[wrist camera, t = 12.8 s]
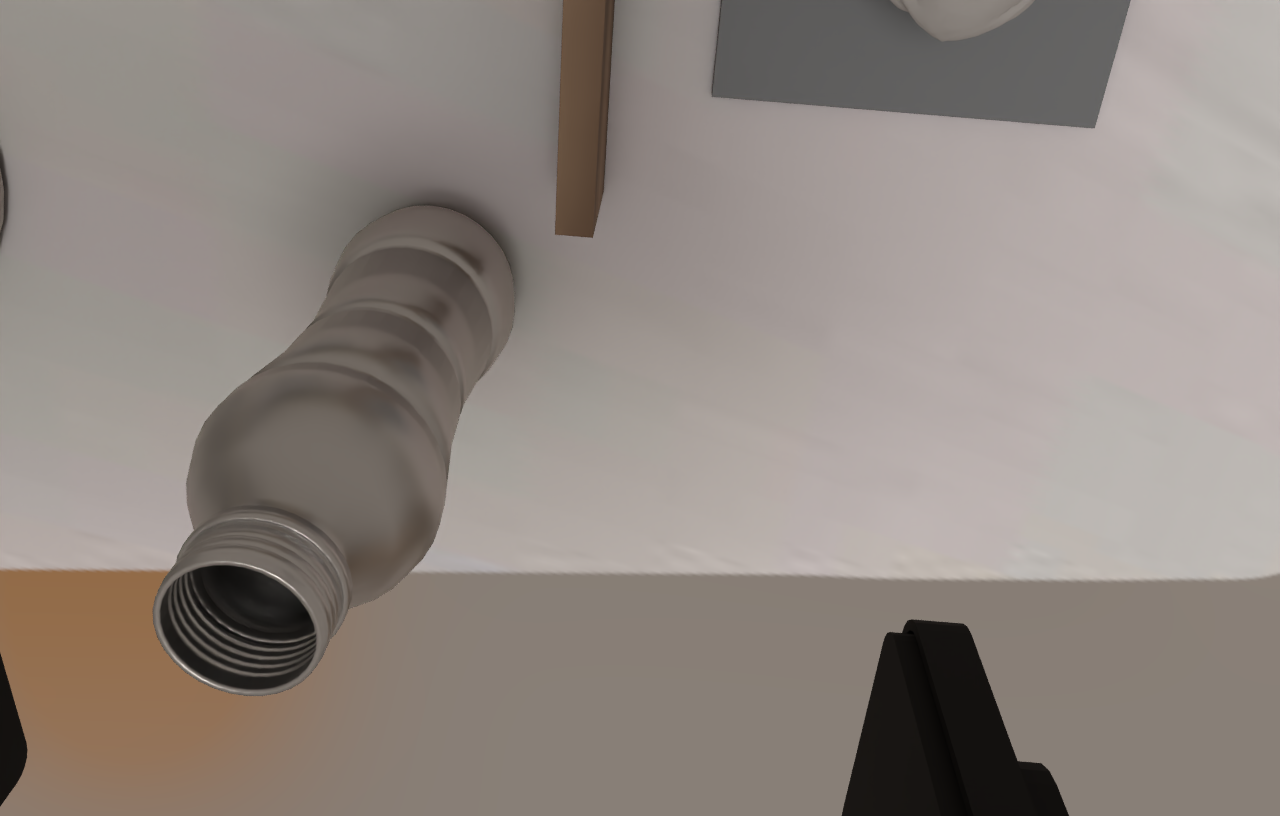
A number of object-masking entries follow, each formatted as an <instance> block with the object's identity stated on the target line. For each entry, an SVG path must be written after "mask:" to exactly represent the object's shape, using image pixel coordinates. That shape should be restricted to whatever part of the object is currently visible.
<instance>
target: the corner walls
mask: <svg viewBox="0 0 1280 816" xmlns="http://www.w3.org/2000/svg"><path fill="white" fill-rule="evenodd" d="M614 3H615V0H563V22H562V51H561V79H560V108H559V136H558V164H557V193H556V221H555V235H567V236H579V237H591V238H593V235H594V230H595V226H596V222H597V218H598V213H599V209H600V205H601V201H602V196H603V192H604V176H605V159H606V142H607V124H608V107H609V89H610V72H611V55H612V37H613V20H614Z"/></svg>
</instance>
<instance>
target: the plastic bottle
mask: <svg viewBox="0 0 1280 816" xmlns="http://www.w3.org/2000/svg"><path fill="white" fill-rule="evenodd" d="M514 313H515V299H514V282H513V277H512V273H511V269H510V266H509V263H508V261H507V259H506V257H505V255H504V253H503V251H502V249H501V247H500V246H499V245H498V243H497V242H496V241H495V239H494V238H493V237H492V236H491V235H490V234H489V233H488V232H487V231H486V230H485V229H484V228H483V227H482V226H481V225H479V224H478V223H477V222H475V221H473V220H472V219H470V218H469V217H467V216H465V215H464V214H461V213H458V212H456V211H453V210H451V209H448V208H442V207H437V206H431V205H429V206H411V207H407V208H402V209H398V210H396V211H394V212H392V213H390V214H387V215H385V216H383V217H381V218H379V219H378V220H376V221H374V222H372V223H370V224H369V225H367V226H366V227H365V228H364V229H362V230H361V231H360V232H358V233H357V234H356V235H355V236H354V238H353V239H352V240H351V241H350V242H349V244H348V245H347V246H346V247H345V249H344V251H343V253H342V255H341V257H340V259H339V261H338V263H337V265H336V268H335V270H334V272H333V275H332V277H331V280H330V284H329V288H328V292H327V296H326V298H325V300H324V302H323V304H322V306H321V308H320V309H319V311H318V313H317V315H316V317H315V319H314V320H313V322H312V323H311V324H310V325H309V326H308V327H307V329H306V330H305V331H303V332H302V334H301V335H300V336H299V337H298V338H297V339H296V340H295V341H294V342H293V343H292V344H291V345H290V346H289V348H288V349H287V350H286V351H285V352H284V353H282V354H281V355H280V356H278V357H277V358H276V359H274V360H273V361H272V362H270V363H269V364H268V365H267V366H265V367H264V368H263V369H261V370H260V371H259V372H257V373H256V374H255V375H254V376H252V377H251V378H250V379H248V380H247V381H246V382H244V383H243V384H242V385H240V386H239V387H238V388H236V389H235V390H234V391H233V392H232V393H231V394H230V395H229V396H228V397H227V398H226V399H225V400H224V401H223V402H222V403H221V404H219V405H218V407H217V408H216V409H215V410H214V411H213V413H212V414H211V415H210V416H209V417H208V419H207V420H206V421H205V423H204V425H203V427H202V429H201V431H200V433H199V435H198V437H197V439H196V441H195V446H194V450H193V454H192V459H191V463H190V467H189V472H188V477H187V482H186V492H187V506H188V510H189V514H190V518H191V521H192V525H193V529H194V531H193V532H192V533H191V534H190V536H189V537H188V538H187V540H186V541H185V543H184V544H183V546H182V548H181V550H180V552H179V554H178V556H177V561H176V563H175V565H174V566H173V567H172V569H171V570H170V572H169V573H168V574H167V576H166V577H165V578H164V580H163V582H162V584H161V586H160V588H159V590H158V593H157V595H156V597H155V601H154V606H153V624H154V627H155V631H156V634H157V637H158V639H159V641H160V643H161V644H162V647H163V648H164V650H165V651H166V653H167V654H168V655H169V656H170V657H171V659H172V660H173V661H174V662H175V663H176V664H177V665H178V666H179V667H180V668H181V669H182V670H184V671H185V672H186V673H187V674H189V675H190V676H192V677H193V678H195V679H196V680H198V681H199V682H202V683H204V684H206V685H208V686H210V687H212V688H215V689H218V690H221V691H224V692H228V693H232V694H238V695H244V696H264V695H271V694H277V693H280V692H283V691H285V690H289V689H291V688H293V687H294V686H296V685H298V684H299V683H301V682H302V681H304V679H306V678H307V677H308V676H309V675H310V674H311V673H312V671H313V670H314V669H315V668H316V666H317V665H318V663H319V661H320V660H321V658H322V657H323V655H324V652H325V650H326V648H327V646H328V643H329V641H330V639H331V638H332V637H333V636H334V635H335V634H336V633H337V631H338V630H339V628H340V626H341V625H342V623H343V621H344V619H345V616H346V614H347V612H348V609H350V608H353V607H356V606H359V605H361V604H364V603H367V602H370V601H372V600H375V599H377V598H379V597H380V596H382V595H383V594H385V593H387V592H388V591H390V590H392V589H393V588H394V587H395V586H396V585H397V584H398V583H399V582H400V581H401V580H402V579H403V578H404V577H405V576H407V575H408V573H409V572H410V571H411V570H412V569H413V568H414V567H415V566H416V565H417V564H418V563H419V562H420V561H421V560H422V559H423V557H424V556H425V554H426V553H427V551H428V550H429V548H430V547H431V545H432V544H433V542H434V539H435V536H436V533H437V531H438V528H439V525H440V521H441V517H442V513H443V509H444V505H445V498H446V489H447V479H448V471H449V463H450V455H451V446H452V442H453V439H454V435H455V432H456V428H457V425H458V421H459V417H460V414H461V411H462V408H463V405H464V403H465V401H466V400H467V398H468V396H469V395H470V393H471V391H472V389H473V388H474V386H475V384H476V383H477V382H478V381H479V380H480V378H481V377H482V376H483V375H484V374H485V373H486V372H487V371H488V370H489V369H490V368H491V366H492V365H493V363H494V362H495V360H496V359H497V358H498V356H499V354H500V353H501V351H502V350H503V348H504V346H505V345H506V343H507V341H508V338H509V336H510V333H511V330H512V327H513V320H514Z"/></svg>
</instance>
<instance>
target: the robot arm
mask: <svg viewBox="0 0 1280 816" xmlns="http://www.w3.org/2000/svg"><path fill="white" fill-rule="evenodd" d="M3 217H4V187H3V181H2V175H1V170H0V232H1V228H2V224H3ZM26 759H27V744H26V740H25V737H24V733H23V729H22V726H21V723H20V719H19V716H18V712H17V709H16V705H15V702H14V699H13V695H12V692H11V688H10V685H9V681H8V678H7V675H6V672H5V668H4V664H3V661H2V657H1V654H0V806H1V805H2V803H3V802H4V800H5V799H6V798H7V796H8V795H9V793H10V792H11V791H12V789H13V788H14V786H15V785H16V784H17V782H18V780H19V778H20V777H21V775H22V772H23V770H24V767H25V763H26ZM842 816H1069V815H1068V812H1067V810H1066V807H1065V805H1064V802H1063V800H1062V797H1061V795H1060V792H1059V789H1058V787H1057V785H1056V783H1055V781H1054V779H1053V777H1052V775H1051V773H1050V771H1049V770H1048V769H1047V768H1046V767H1045V766H1043V765H1042V764H1041V763H1032V762H1020V761H1017V758H1016V756H1015V753H1014V750H1013V747H1012V745H1011V742H1010V739H1009V737H1008V734H1007V731H1006V729H1005V726H1004V723H1003V720H1002V717H1001V715H1000V712H999V709H998V706H997V704H996V701H995V699H994V695H993V693H992V690H991V687H990V684H989V682H988V679H987V676H986V674H985V671H984V668H983V665H982V662H981V660H980V657H979V655H978V651H977V649H976V646H975V643H974V640H973V638H972V635H971V633H970V631H969V629H968V627H967V626H966V625H964V624H960V623H948V622H935V621H924V620H908V621H907V623H906V624H905V626H904V629H903V632H902V633H893V632H889V633H887V635H886V636H885V639H884V642H883V646H882V650H881V654H880V658H879V662H878V666H877V671H876V675H875V679H874V683H873V687H872V691H871V696H870V700H869V704H868V708H867V712H866V716H865V720H864V724H863V729H862V733H861V737H860V741H859V745H858V750H857V753H856V758H855V762H854V766H853V770H852V774H851V778H850V783H849V787H848V791H847V795H846V799H845V803H844V808H843V812H842Z"/></svg>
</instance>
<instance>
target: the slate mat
mask: <svg viewBox="0 0 1280 816" xmlns="http://www.w3.org/2000/svg"><path fill="white" fill-rule="evenodd" d="M1130 1H1131V0H1035V1H1034V2H1033V3H1032V4H1031V5H1030V6H1029V7H1028V8H1027V9H1026V10H1025V11H1023V12H1022V13H1021V14H1020V15H1018V16H1017V17H1015V18H1014V19H1012V20H1010V21H1008V22H1006V23H1004V24H1003V25H1001V26H1000V27H997V28H995V29H993V30H990V31H988V32H986V33H983V34H981V35H979V36H976V37H971V38H967V39H963V40H957V41H943V42H942V41H940V40H938V39H936V38H934V37H932V36H931V35H930V34H929V33H927V32H926V31H925V30H924V29H923V28H921V27H920V26H919V25H918V24H917V23H916V22H915V20H914V19H913V18H912V17H911V15H910V14H909V12H906V11H903V10H901V9H899V8H897V7H896V6H895V5H894V4H893V3H892V2H891V1H890V0H722V1H721V10H720V20H719V29H718V39H717V49H716V58H715V68H714V78H713V87H712V97H721V98H733V99H745V100H758V101H770V102H782V103H794V104H806V105H818V106H830V107H842V108H854V109H866V110H878V111H890V112H902V113H914V114H927V115H939V116H951V117H963V118H975V119H987V120H999V121H1011V122H1023V123H1035V124H1047V125H1059V126H1071V127H1084V128H1095V125H1096V121H1097V118H1098V114H1099V111H1100V107H1101V104H1102V100H1103V97H1104V93H1105V89H1106V86H1107V82H1108V79H1109V75H1110V72H1111V68H1112V65H1113V61H1114V58H1115V54H1116V50H1117V47H1118V43H1119V40H1120V36H1121V33H1122V29H1123V26H1124V22H1125V18H1126V15H1127V11H1128V8H1129V4H1130Z"/></svg>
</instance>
